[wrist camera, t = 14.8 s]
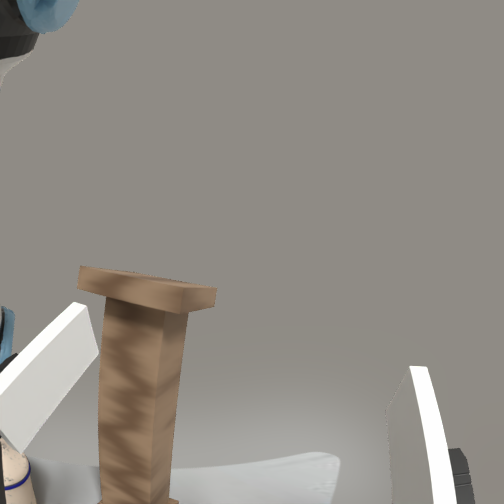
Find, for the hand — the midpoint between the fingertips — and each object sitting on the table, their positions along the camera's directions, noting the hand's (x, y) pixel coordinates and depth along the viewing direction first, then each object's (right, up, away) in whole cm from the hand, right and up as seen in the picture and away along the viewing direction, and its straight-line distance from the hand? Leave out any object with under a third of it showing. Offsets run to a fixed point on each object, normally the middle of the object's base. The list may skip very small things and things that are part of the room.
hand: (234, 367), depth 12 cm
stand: (-13, -28, +15) cm, 34 cm away
